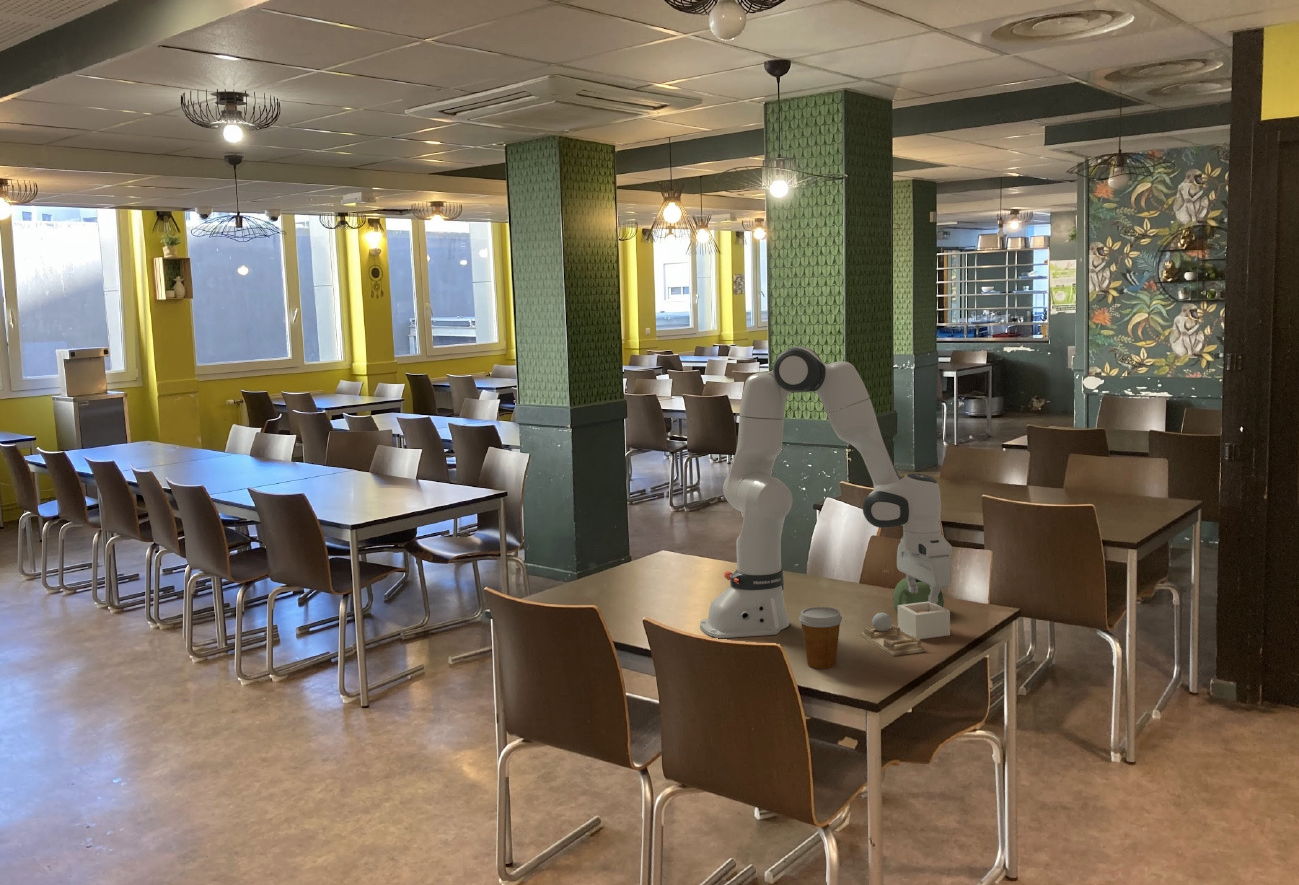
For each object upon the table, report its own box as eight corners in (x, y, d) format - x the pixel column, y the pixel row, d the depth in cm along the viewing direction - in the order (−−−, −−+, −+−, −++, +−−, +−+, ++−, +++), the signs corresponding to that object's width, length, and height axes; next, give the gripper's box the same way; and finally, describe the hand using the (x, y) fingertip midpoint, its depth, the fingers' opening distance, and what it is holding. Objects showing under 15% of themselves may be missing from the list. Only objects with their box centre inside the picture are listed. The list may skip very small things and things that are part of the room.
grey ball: (877, 634, 251) (877, 616, 251) (869, 629, 256) (868, 611, 255) (895, 632, 252) (894, 614, 252) (886, 627, 257) (885, 609, 256)
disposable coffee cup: (803, 656, 243) (802, 605, 242) (845, 658, 241) (844, 607, 239) (797, 670, 234) (795, 617, 233) (840, 672, 232) (839, 619, 230)
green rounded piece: (908, 602, 283) (907, 570, 282) (953, 609, 274) (953, 577, 273) (877, 616, 271) (876, 583, 270) (922, 625, 263) (922, 591, 262)
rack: (892, 656, 241) (892, 645, 240) (861, 635, 256) (861, 626, 256) (924, 651, 243) (924, 641, 242) (891, 631, 258) (891, 622, 258)
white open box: (916, 639, 252) (915, 615, 251) (897, 629, 260) (897, 605, 259) (950, 635, 254) (949, 610, 253) (930, 624, 262) (930, 601, 262)
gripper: (889, 534, 263) (890, 588, 265) (931, 551, 244) (932, 609, 245) (912, 531, 265) (913, 585, 267) (956, 548, 245) (956, 606, 247)
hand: (923, 597), depth 256 cm, fingers open, 8 cm apart
